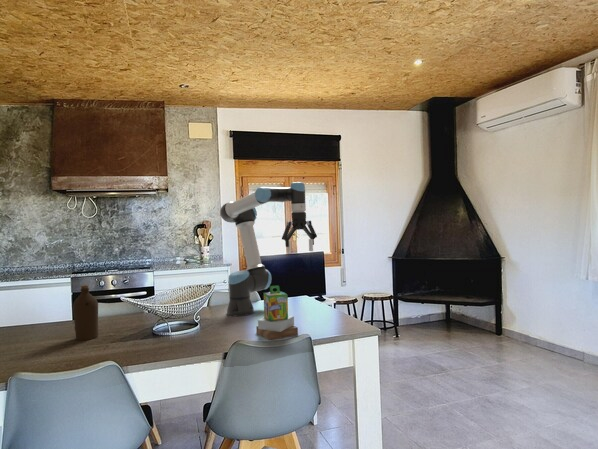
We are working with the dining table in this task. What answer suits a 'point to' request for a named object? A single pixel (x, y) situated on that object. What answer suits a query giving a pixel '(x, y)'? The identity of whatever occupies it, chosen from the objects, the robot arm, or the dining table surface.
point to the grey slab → (275, 324)
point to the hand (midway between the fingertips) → (300, 252)
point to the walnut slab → (278, 333)
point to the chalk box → (275, 304)
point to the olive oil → (85, 315)
